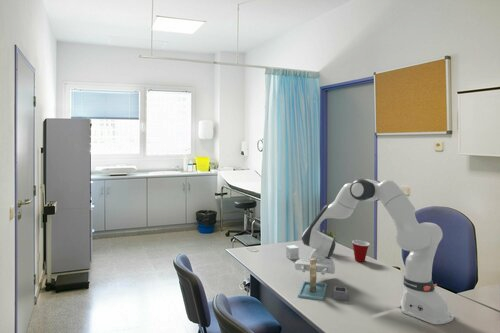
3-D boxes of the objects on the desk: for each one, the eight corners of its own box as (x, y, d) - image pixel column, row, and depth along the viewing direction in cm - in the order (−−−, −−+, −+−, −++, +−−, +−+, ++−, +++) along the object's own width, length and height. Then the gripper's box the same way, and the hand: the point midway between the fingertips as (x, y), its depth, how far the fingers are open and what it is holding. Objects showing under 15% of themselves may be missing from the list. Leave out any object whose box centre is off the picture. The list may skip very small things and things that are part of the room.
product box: (298, 258, 244) (299, 247, 243) (290, 259, 242) (290, 248, 241) (294, 255, 250) (294, 244, 249) (285, 256, 247) (286, 245, 247)
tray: (303, 284, 202) (303, 281, 202) (326, 287, 199) (326, 283, 199) (297, 299, 185) (297, 295, 185) (323, 302, 182) (323, 298, 181)
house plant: (339, 258, 246) (340, 233, 244) (317, 256, 249) (318, 231, 247) (339, 251, 260) (340, 227, 258) (318, 249, 263) (319, 226, 261)
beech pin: (317, 291, 191) (317, 260, 190) (312, 292, 190) (312, 261, 188) (313, 289, 194) (313, 258, 193) (308, 290, 192) (308, 259, 191)
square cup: (346, 297, 187) (347, 287, 187) (346, 302, 181) (346, 292, 181) (334, 296, 189) (334, 286, 188) (333, 301, 183) (333, 290, 183)
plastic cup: (370, 264, 235) (370, 245, 233) (351, 263, 237) (352, 243, 236) (368, 258, 245) (369, 240, 244) (350, 257, 247) (351, 239, 246)
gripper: (296, 254, 206) (292, 263, 193) (335, 258, 201) (334, 267, 188) (296, 266, 207) (292, 275, 194) (335, 270, 201) (333, 280, 188)
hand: (313, 271), depth 191 cm, fingers open, 8 cm apart
